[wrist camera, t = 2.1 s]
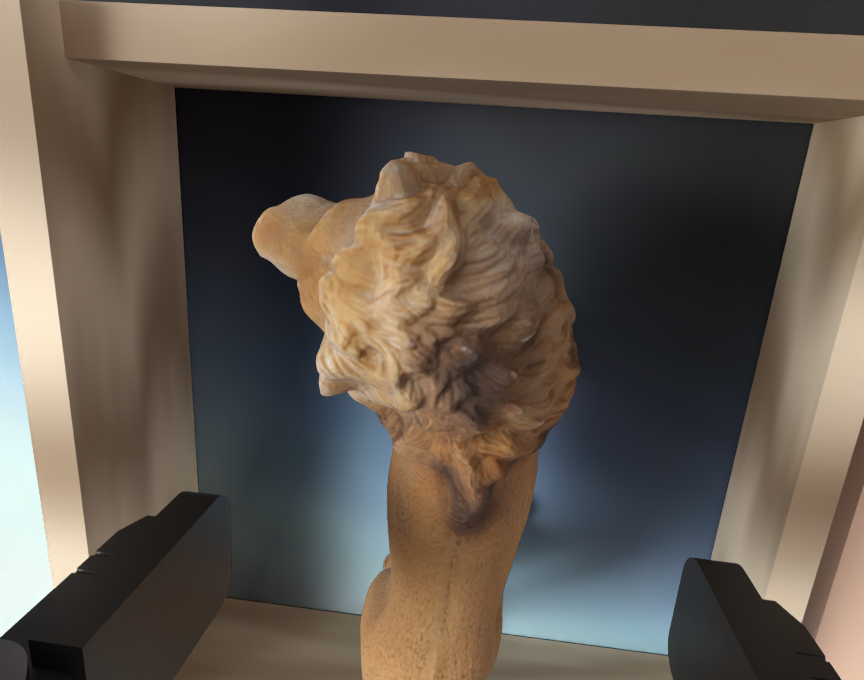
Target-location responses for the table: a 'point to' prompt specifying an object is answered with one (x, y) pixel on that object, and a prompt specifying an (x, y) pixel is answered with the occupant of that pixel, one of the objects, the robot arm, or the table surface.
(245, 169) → the table surface
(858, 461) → the terracotta tile
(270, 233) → the lion figurine
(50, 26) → the frame
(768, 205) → the table surface
